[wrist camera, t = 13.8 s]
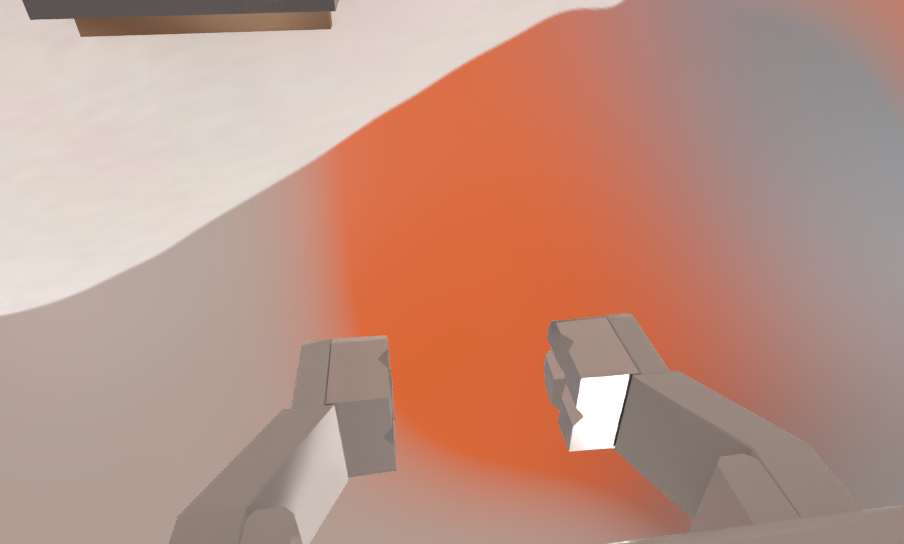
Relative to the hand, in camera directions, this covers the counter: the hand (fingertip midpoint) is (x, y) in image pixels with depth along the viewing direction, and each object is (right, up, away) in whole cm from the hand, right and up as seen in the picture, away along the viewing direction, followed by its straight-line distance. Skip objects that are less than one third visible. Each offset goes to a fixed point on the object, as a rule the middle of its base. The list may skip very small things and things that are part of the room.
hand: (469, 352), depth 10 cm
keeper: (-15, +22, +18) cm, 32 cm away
